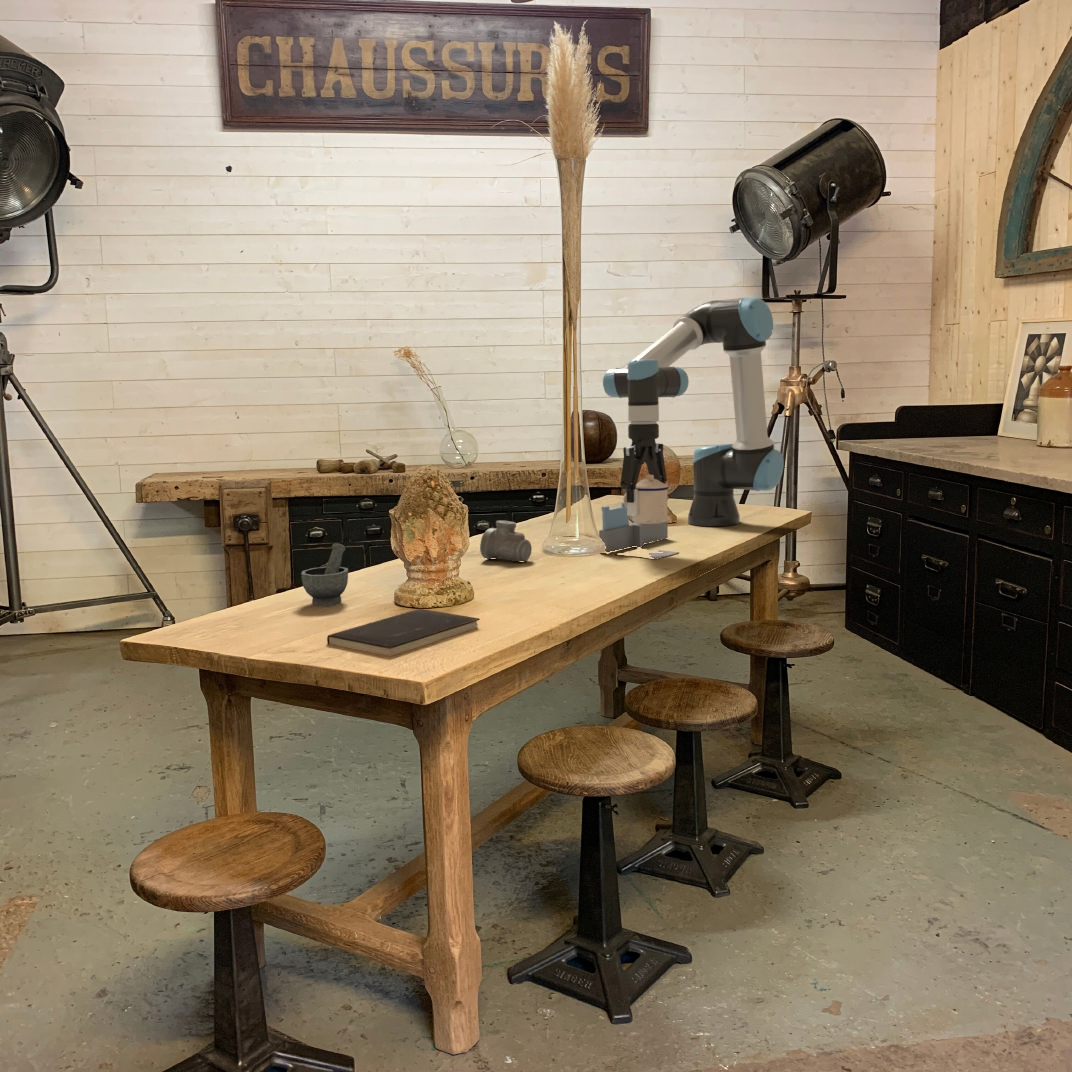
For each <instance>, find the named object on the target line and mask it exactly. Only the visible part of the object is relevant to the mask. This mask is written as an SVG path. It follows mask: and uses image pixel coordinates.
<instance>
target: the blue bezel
mask: <svg viewBox="0 0 1072 1072" xmlns="http://www.w3.org/2000/svg"><path fill="white" fill-rule="evenodd" d="M601 512H602V513H601V514H602V517H601V518H602V530H605V531H606V530H610V529H615V528H619V527H623V526H628V525H629V524H630V520H629V519H630V518H629V517H630V516H628V515H627V508H626V507H625V504H624V502H621V506H620V507H615V508H610V506H609V505H608V506H607V505H605V506H601Z"/></svg>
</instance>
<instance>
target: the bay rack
mask: <svg viewBox="0 0 1072 1072" xmlns="http://www.w3.org/2000/svg"><path fill="white" fill-rule="evenodd" d="M668 530H669V529H668V520H667V521H666V522H664V523H657V524H641V523H635V522H629V525H628V526H623V527H619V528H615V529H610V530H606V531H605V530H603V529H599V530H598V535H599V536H598V538H599V537H600V538H601V539H602V541H603V542H604V543H605V546H606V549H605V551H606V552H610V551H615V550H619V549H624V548H627V547H632V546H637V547H641V546H644V545H643V544H644V543H649V542H652V541H657V540H661V539H666V538H668V537H669V536H668V534H669V531H668ZM668 539H669V538H668ZM658 550H659V551H658V552H663V553H649V555H651V556H650V557H652V558H654V559H657V558H660V557H664V558H666V557H665V556H668V557H670V556H669V555H672V556H674V555H673V554H675V555H678V554H677V553H680V552H679V551H671V550H661V549H658ZM657 560H658V559H657Z"/></svg>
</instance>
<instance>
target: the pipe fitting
mask: <svg viewBox="0 0 1072 1072" xmlns="http://www.w3.org/2000/svg"><path fill="white" fill-rule="evenodd" d="M495 526H496V527H490V528H487V530H485V532H484V533H483V534H482V536H481V540H480V544H479V545H480V546H479V547H480V548H479V549H480V550H479V551H480V554H481V556H482V557H483V558H484V559H485V558H487V559H486V560H489V559H491V558H498V559H499V558H500V559H504V560H507V561H511V560H513V561H512V562H515V561H526V560H527V561H528V560H529V559H530V557H531V555H532V547H533V546H532V543H531V541H530V540H529V539H527V538H526V537H525V534H524V533H523V532H517V531H515V530H516V527H517V523H516V522H514V521H509V520H496V521H495ZM527 561H526V562H527Z"/></svg>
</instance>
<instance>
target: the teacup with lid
mask: <svg viewBox="0 0 1072 1072" xmlns="http://www.w3.org/2000/svg"><path fill="white" fill-rule="evenodd" d="M653 478H654V476H653V475H649V474H646V475H645V478H644V479H642V480H640V481H639V482H637V484H636V488H635V489H637V490H638V516H632V521H633V522H632V523H634V522H635V523H641V524H657V523H664V522H666V521H667V522H668V489H669V486H668V484H667V483H665V484H664V483H662V482H660V481H659V480H657V479H653ZM622 499H623V503H624V504H625V507H626V508H627V495H626V493H625V494H624V495H623V498H622Z"/></svg>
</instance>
